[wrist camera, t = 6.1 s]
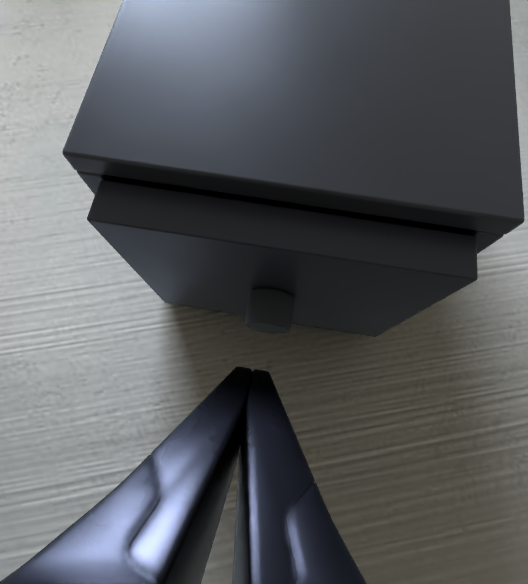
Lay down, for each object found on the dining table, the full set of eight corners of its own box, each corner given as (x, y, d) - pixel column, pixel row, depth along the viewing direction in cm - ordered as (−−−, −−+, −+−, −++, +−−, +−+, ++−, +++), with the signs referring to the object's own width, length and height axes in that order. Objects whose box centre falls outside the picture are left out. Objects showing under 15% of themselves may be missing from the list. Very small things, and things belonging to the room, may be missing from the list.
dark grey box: (384, 317, 17) (526, 222, 8) (163, 282, 17) (60, 153, 8) (396, 120, 20) (504, -100, 11) (212, 94, 21) (177, -138, 12)
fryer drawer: (374, 363, 15) (479, 328, 8) (157, 328, 16) (69, 263, 8) (389, 139, 19) (471, -27, 12) (212, 114, 19) (185, -62, 12)
